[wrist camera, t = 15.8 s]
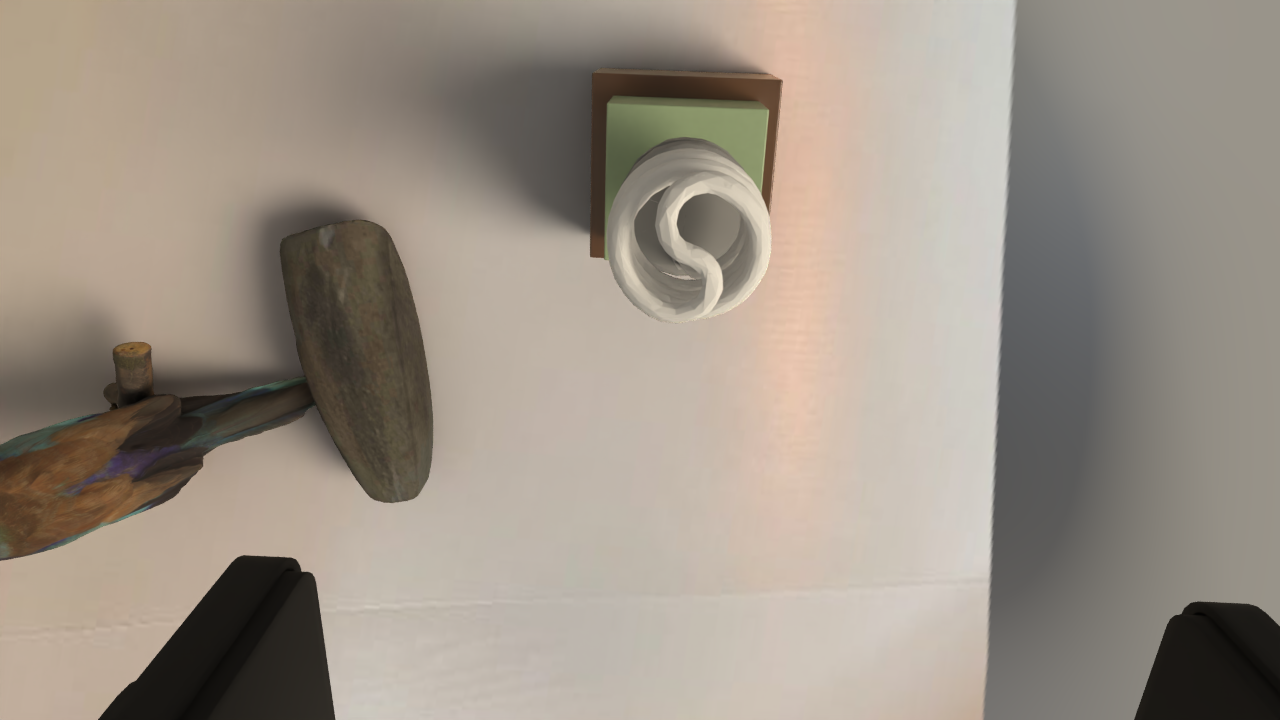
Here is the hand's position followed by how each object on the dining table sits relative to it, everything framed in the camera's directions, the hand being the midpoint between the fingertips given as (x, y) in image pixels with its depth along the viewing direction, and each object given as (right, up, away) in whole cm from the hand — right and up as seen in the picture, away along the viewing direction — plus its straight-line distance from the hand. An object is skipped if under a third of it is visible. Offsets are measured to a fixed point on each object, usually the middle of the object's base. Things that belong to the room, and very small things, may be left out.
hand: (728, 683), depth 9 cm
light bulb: (+1, +11, +28) cm, 30 cm away
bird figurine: (-30, +1, +42) cm, 52 cm away
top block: (+1, +13, +31) cm, 34 cm away
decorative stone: (-17, +4, +41) cm, 44 cm away
